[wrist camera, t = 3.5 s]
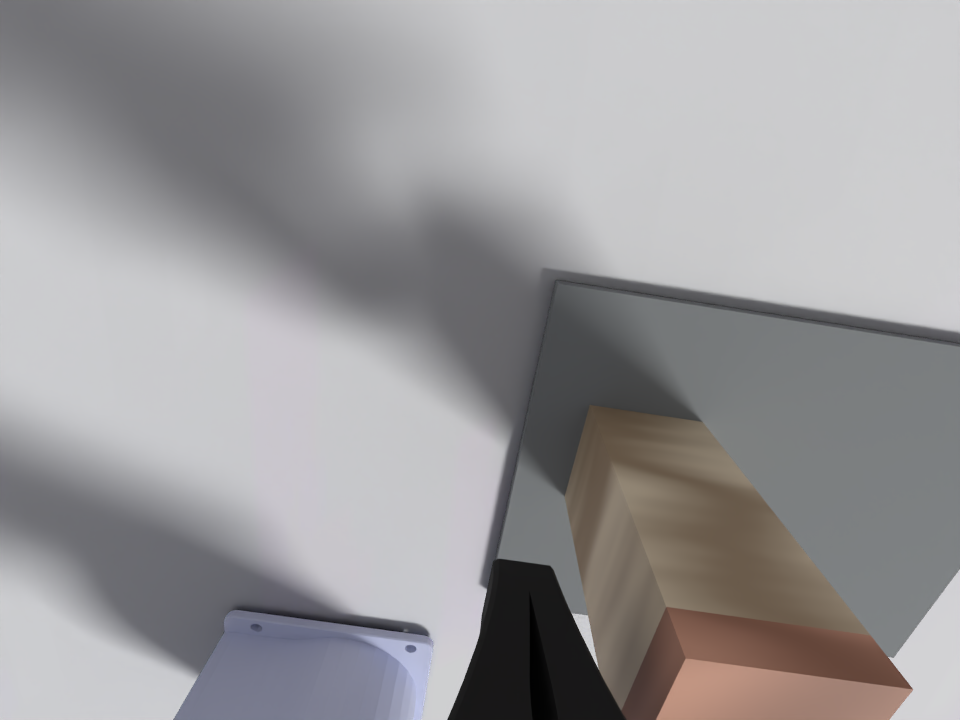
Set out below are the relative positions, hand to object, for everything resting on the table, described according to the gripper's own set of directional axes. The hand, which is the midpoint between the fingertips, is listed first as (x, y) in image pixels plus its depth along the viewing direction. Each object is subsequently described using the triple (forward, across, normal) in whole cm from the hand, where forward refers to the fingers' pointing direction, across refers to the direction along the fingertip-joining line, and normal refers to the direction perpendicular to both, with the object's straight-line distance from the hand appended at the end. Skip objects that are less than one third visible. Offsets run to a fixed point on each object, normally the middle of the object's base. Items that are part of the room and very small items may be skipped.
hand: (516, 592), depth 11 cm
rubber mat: (+7, -9, +1) cm, 12 cm away
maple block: (+6, -4, 0) cm, 8 cm away
